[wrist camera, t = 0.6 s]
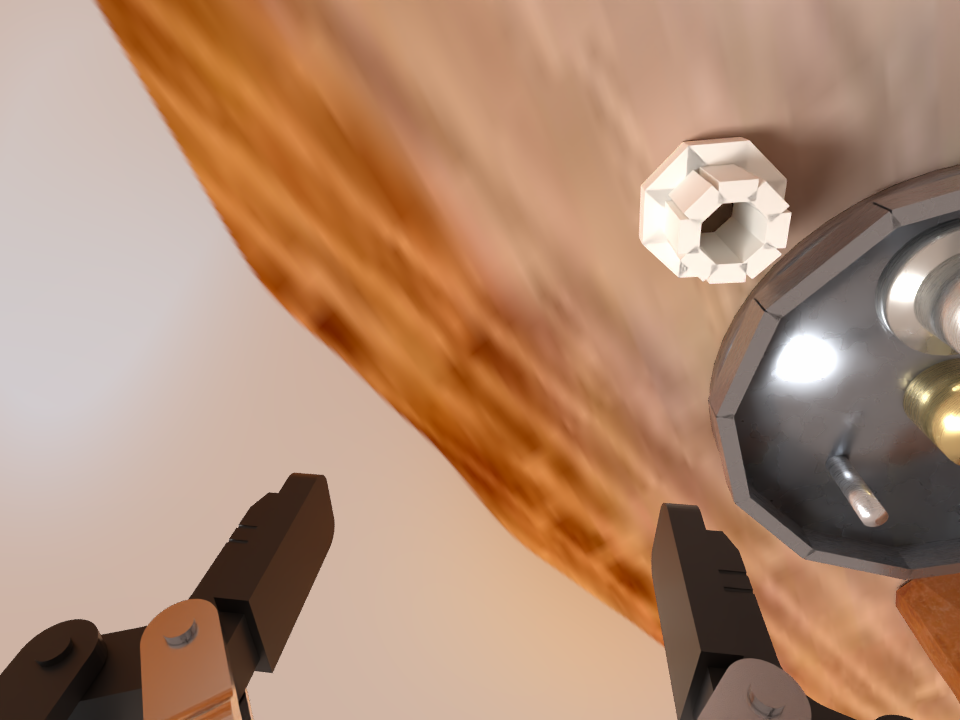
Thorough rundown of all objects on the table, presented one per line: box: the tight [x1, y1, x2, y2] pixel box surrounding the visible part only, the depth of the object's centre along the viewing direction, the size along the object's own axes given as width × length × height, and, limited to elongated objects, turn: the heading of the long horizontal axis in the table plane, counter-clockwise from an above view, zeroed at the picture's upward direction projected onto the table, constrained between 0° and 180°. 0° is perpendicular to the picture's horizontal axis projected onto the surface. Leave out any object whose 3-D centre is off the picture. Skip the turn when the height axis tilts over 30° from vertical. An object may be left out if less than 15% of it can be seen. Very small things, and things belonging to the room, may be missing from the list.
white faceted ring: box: [639, 137, 792, 284], centre depth 29 cm, size 7×7×6 cm
